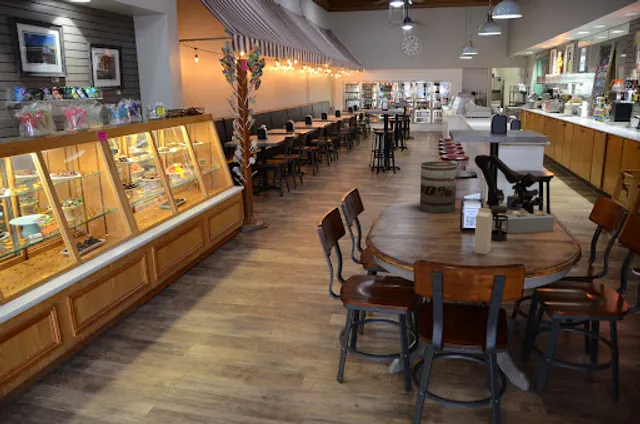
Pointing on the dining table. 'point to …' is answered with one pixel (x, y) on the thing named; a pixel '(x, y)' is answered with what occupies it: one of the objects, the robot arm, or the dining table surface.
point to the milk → (483, 231)
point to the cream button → (516, 213)
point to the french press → (499, 222)
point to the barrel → (438, 187)
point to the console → (528, 223)
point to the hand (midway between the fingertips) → (532, 214)
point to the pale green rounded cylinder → (537, 214)
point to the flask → (510, 200)
